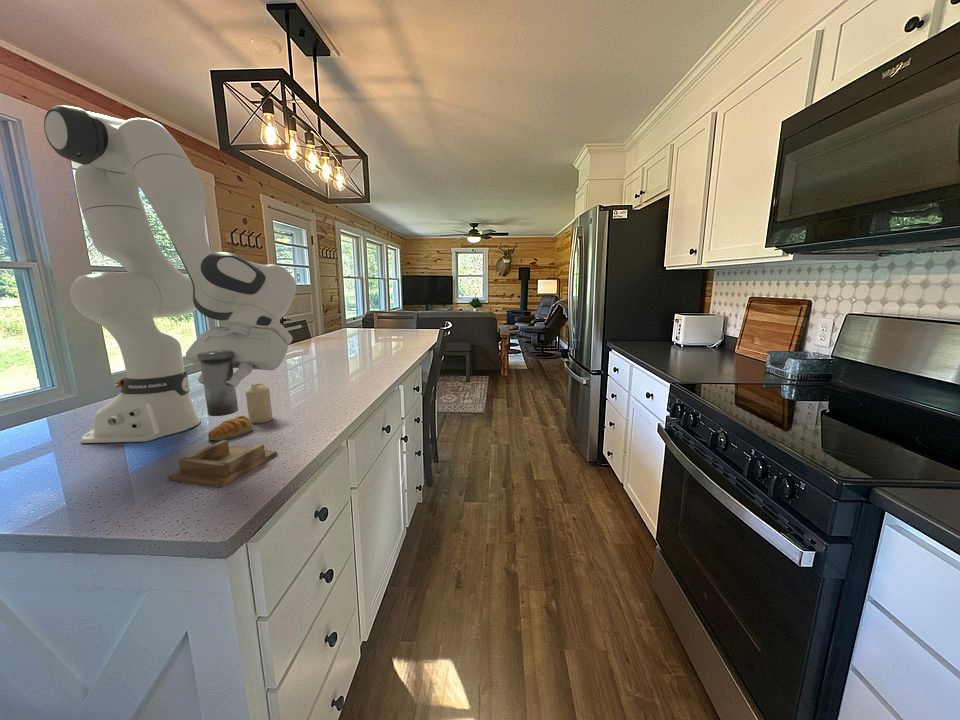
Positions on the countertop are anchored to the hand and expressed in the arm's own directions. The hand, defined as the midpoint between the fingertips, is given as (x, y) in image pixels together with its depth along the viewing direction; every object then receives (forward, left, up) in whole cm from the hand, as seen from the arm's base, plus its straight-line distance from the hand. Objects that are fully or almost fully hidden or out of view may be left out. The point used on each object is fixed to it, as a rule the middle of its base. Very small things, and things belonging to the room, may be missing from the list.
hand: (216, 384), depth 74 cm
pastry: (-5, +19, -18) cm, 27 cm away
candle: (-1, +28, -17) cm, 33 cm away
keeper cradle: (0, 0, -17) cm, 17 cm away
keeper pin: (0, +1, -6) cm, 6 cm away
